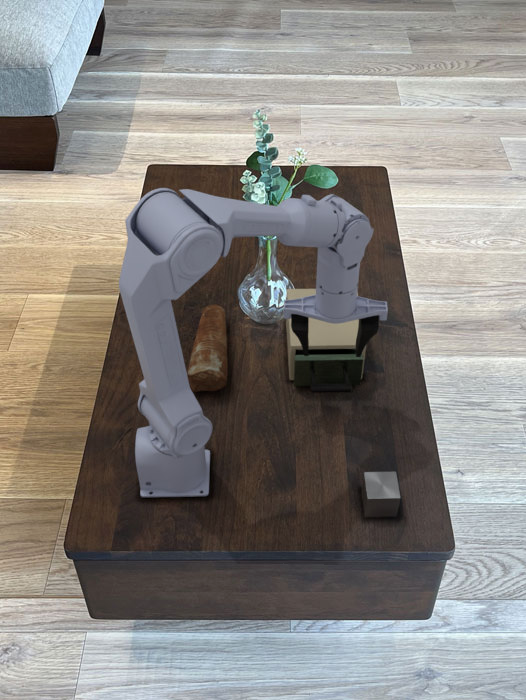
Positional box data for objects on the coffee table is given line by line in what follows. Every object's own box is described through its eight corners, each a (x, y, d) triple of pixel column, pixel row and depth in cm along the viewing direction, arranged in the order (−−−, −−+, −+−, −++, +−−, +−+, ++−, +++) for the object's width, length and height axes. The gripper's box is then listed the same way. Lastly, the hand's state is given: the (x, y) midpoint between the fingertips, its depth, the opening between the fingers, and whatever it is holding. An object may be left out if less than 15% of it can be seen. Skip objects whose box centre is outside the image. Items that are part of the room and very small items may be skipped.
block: (364, 517, 108) (367, 498, 105) (361, 491, 111) (363, 471, 108) (396, 517, 108) (400, 498, 105) (392, 490, 112) (396, 471, 108)
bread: (186, 398, 124) (183, 373, 120) (200, 316, 138) (198, 292, 134) (226, 399, 124) (225, 374, 120) (236, 318, 137) (235, 293, 133)
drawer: (363, 408, 121) (367, 382, 117) (295, 410, 121) (296, 383, 117) (352, 331, 134) (355, 305, 130) (290, 332, 134) (291, 306, 129)
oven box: (362, 379, 127) (366, 344, 122) (289, 380, 127) (290, 346, 121) (353, 322, 137) (357, 287, 131) (286, 323, 136) (286, 288, 131)
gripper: (388, 263, 111) (379, 334, 121) (284, 261, 111) (283, 332, 121) (392, 296, 106) (382, 367, 116) (283, 294, 106) (282, 365, 116)
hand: (332, 351), depth 118 cm, fingers open, 7 cm apart
